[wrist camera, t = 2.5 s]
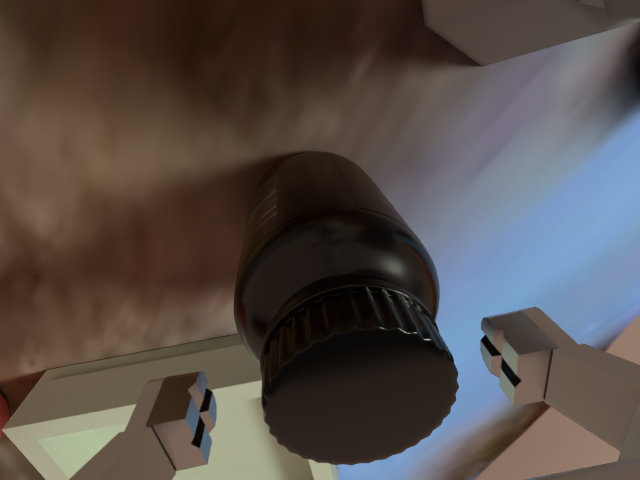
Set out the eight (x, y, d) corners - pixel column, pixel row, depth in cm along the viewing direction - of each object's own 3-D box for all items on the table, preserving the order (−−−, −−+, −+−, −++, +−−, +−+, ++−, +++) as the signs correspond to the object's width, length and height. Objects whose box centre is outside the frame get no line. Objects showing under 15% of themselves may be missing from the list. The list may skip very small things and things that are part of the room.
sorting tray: (46, 370, 22) (1, 429, 19) (302, 321, 22) (306, 371, 19) (145, 509, 29) (126, 571, 26) (338, 472, 30) (345, 528, 26)
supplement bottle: (289, 286, 21) (297, 520, 10) (224, 187, 18) (140, 373, 7) (397, 235, 20) (526, 432, 10) (348, 122, 17) (455, 226, 7)
